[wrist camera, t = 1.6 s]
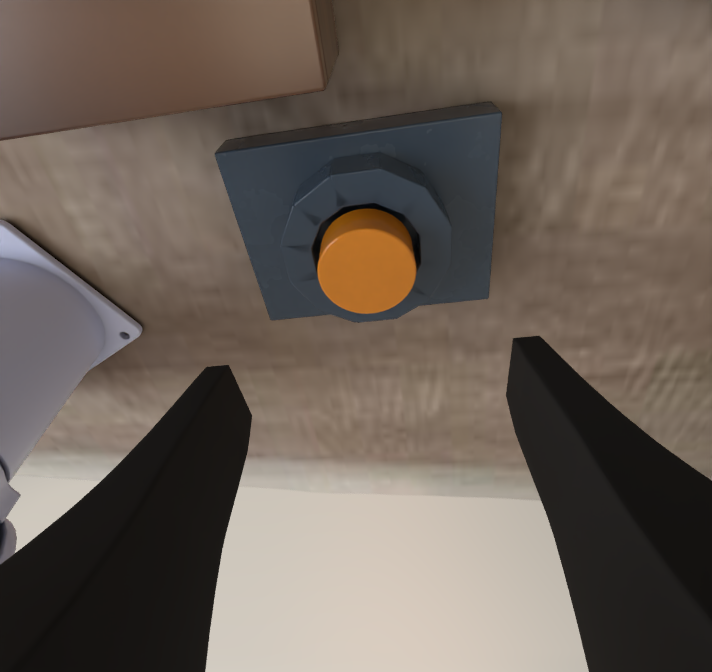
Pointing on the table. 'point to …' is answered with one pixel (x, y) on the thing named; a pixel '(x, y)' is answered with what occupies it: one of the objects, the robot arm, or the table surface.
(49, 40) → the lid
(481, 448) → the table surface
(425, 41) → the table surface
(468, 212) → the block
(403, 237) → the button
